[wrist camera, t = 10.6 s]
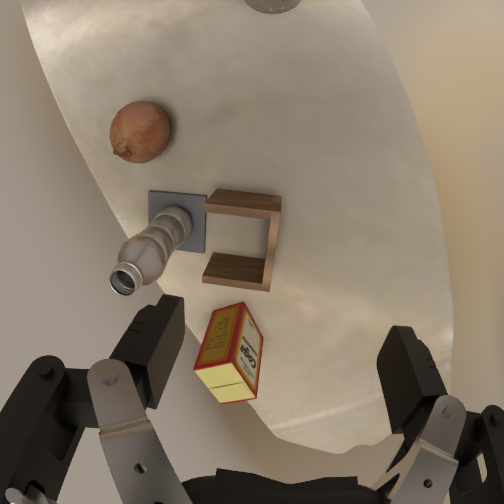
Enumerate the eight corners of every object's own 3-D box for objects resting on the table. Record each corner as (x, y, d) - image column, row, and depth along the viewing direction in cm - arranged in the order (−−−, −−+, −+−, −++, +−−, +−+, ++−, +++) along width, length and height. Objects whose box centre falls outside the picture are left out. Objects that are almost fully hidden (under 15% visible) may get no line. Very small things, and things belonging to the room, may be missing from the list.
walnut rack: (216, 189, 47) (204, 203, 40) (281, 196, 47) (280, 212, 40) (213, 258, 53) (202, 282, 45) (271, 266, 52) (269, 291, 45)
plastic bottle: (152, 224, 50) (91, 284, 32) (172, 194, 47) (111, 245, 29) (181, 247, 51) (133, 317, 33) (203, 218, 49) (158, 282, 31)
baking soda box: (213, 310, 58) (192, 370, 43) (243, 301, 56) (230, 363, 42) (234, 345, 61) (221, 405, 47) (263, 337, 59) (256, 400, 45)
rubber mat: (150, 190, 48) (148, 191, 48) (207, 195, 48) (206, 196, 47) (151, 244, 53) (150, 246, 52) (204, 251, 52) (203, 253, 51)
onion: (155, 150, 48) (123, 185, 42) (122, 110, 43) (85, 141, 37) (193, 126, 43) (161, 161, 37) (157, 80, 38) (117, 108, 32)
